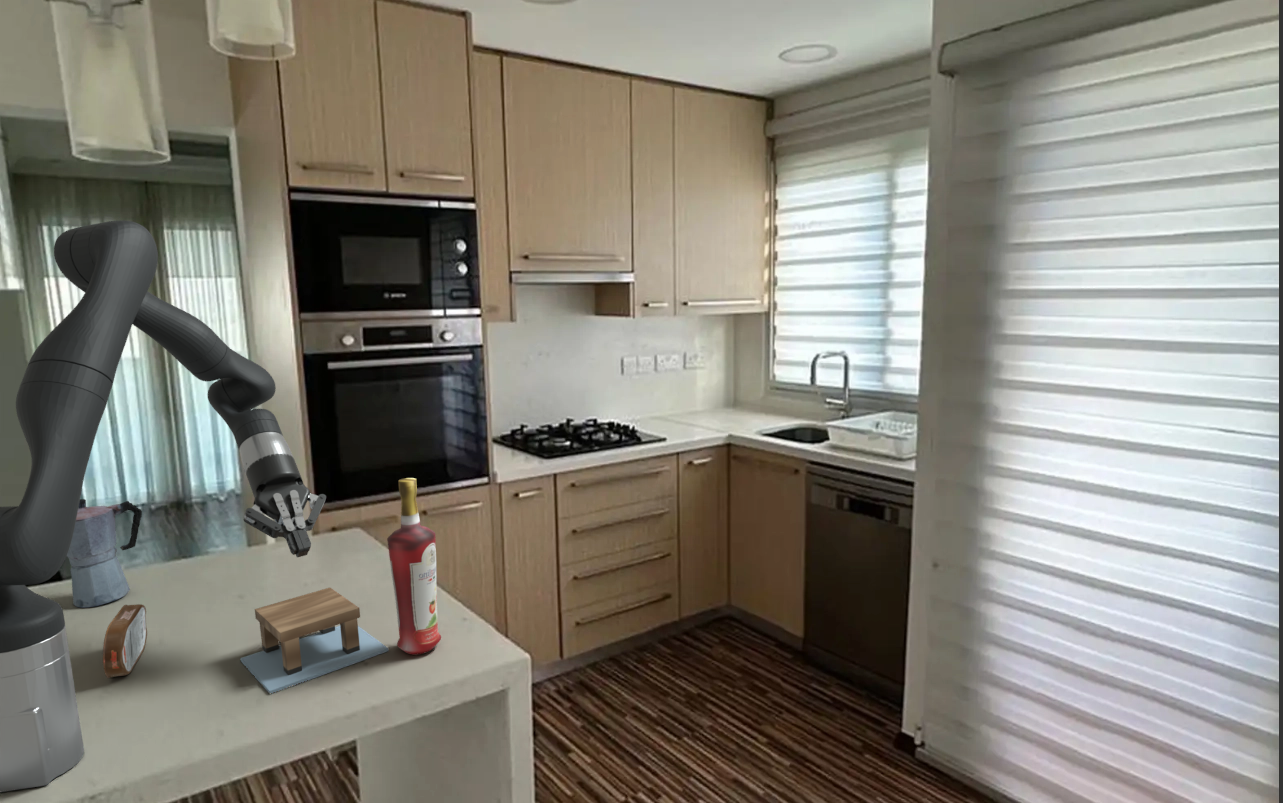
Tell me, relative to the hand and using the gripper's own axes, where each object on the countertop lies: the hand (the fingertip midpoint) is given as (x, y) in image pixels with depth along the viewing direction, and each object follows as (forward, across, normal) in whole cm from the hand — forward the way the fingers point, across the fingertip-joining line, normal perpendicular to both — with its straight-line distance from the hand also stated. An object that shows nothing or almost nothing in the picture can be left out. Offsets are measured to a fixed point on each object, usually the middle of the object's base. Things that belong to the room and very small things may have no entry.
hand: (303, 553), depth 118 cm
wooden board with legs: (+4, 0, +14) cm, 15 cm away
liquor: (+19, +13, +5) cm, 24 cm away
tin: (-1, -21, +26) cm, 33 cm away
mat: (+12, 0, +12) cm, 17 cm away
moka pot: (-26, -20, +50) cm, 60 cm away
